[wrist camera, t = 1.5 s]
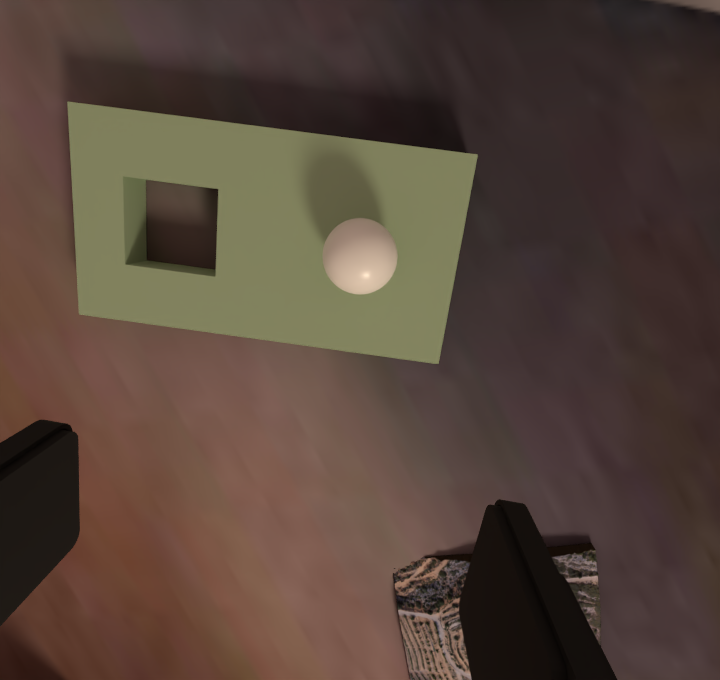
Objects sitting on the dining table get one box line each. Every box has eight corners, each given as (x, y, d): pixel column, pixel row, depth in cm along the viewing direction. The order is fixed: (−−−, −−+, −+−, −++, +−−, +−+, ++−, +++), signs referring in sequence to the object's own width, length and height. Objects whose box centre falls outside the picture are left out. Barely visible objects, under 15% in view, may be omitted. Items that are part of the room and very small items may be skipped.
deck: (469, 160, 26) (477, 154, 24) (434, 351, 29) (438, 364, 27) (96, 111, 26) (67, 101, 24) (103, 306, 30) (79, 314, 27)
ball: (401, 222, 25) (404, 224, 21) (391, 292, 26) (392, 305, 22) (331, 213, 25) (321, 213, 21) (324, 283, 26) (313, 295, 22)
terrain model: (390, 552, 35) (391, 585, 32) (586, 535, 34) (607, 567, 30) (419, 735, 40) (423, 778, 37) (590, 726, 39) (608, 770, 36)
